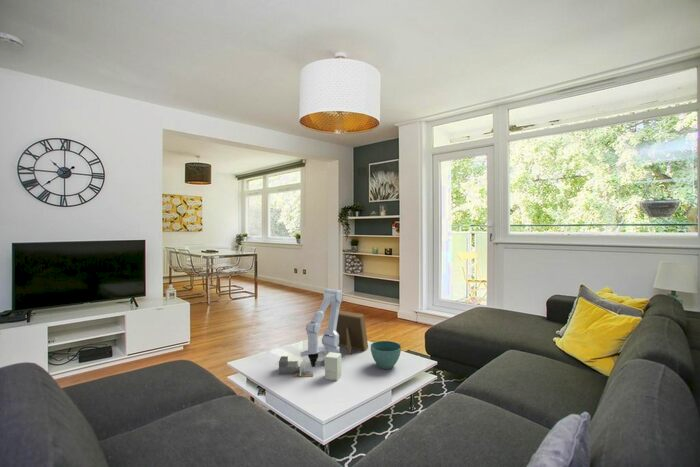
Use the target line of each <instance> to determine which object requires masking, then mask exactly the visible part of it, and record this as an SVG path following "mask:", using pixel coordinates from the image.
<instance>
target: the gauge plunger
mask: <svg viewBox="0 0 700 467" xmlns="http://www.w3.org/2000/svg"><path fill="white" fill-rule="evenodd" d="M304 363H305V361H300V364H299V366H298V367H297V370H299V374H300V376H301V374H304V373H303V372H304V367H305V366H304V365H305V364H304Z"/></svg>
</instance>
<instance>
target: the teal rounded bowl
mask: <svg viewBox="0 0 700 467" xmlns="http://www.w3.org/2000/svg"><path fill="white" fill-rule="evenodd" d="M369 345H370V352H371V355H372V359H373V361H374V362H375V364H376V365H377V366H378V367H379V368H380V369H384V370H389V369H392V368H394V366H395V365H396V363H397V362H398V361H399V359H400V355H401V352H402V346H401V344H400V343H398V342H395V341H389V340H379V341H375V342H372V343H370V344H369Z"/></svg>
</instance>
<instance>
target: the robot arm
mask: <svg viewBox="0 0 700 467" xmlns="http://www.w3.org/2000/svg"><path fill="white" fill-rule="evenodd" d="M342 298H343V293H342V291H341V290H340V289H338V290H337V289H333V288H332V289H331V288H326V289H325V290H324V291H323V300H322V302H321V304H320V307H319V309H318V310H316V311H315V312H314V314H313V316H312V318H311V320H310V321H309V322H308V323H307V324H306V326H305V330H306V334H307V350H304V351H301V352H300V353H299V354H300V357H302V358H303V357H305V356H306V357H308V359H309V362H310V366H311V368H316V363H317V360H318V359H319V354H321V353H324V358H323V363H324V364H325V356H326V355H327V354H328V353H329V352H333V353H340V345H339V334H338V333H337V332H336V327H337V321H338V314H339V310H340V306H341V304H342ZM330 304H331V305H330ZM329 306H331V307H330V314H329V318H328V319H329V320H328V325H327V330H326V331H324V332H323V336H322V337H321V344H322V345H323V348H319V332H320V330H321V326H322V325H321V324H322V321H323V319H324V318H325V312H326V310H327V309H328V308H329Z"/></svg>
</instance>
